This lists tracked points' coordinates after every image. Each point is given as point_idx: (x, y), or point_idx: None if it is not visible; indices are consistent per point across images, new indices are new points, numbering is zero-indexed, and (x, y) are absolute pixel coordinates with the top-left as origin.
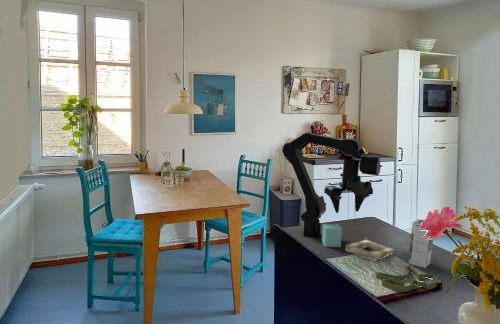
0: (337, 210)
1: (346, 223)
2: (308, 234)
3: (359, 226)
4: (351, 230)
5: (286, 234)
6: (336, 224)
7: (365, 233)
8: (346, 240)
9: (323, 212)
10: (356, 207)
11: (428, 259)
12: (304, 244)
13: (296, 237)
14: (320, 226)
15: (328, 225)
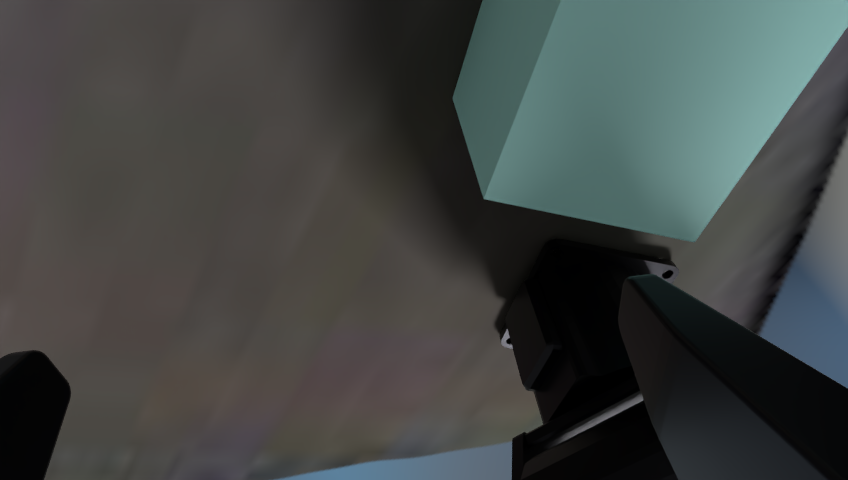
0: (710, 309)
1: (168, 456)
2: (636, 273)
3: (70, 406)
4: (174, 340)
5: (768, 311)
6: (519, 187)
7: (48, 266)
8: (331, 112)
9: (578, 463)
10: (1, 466)
11: None
12: (836, 69)
13: (749, 247)
14: (542, 327)
15: (677, 158)
